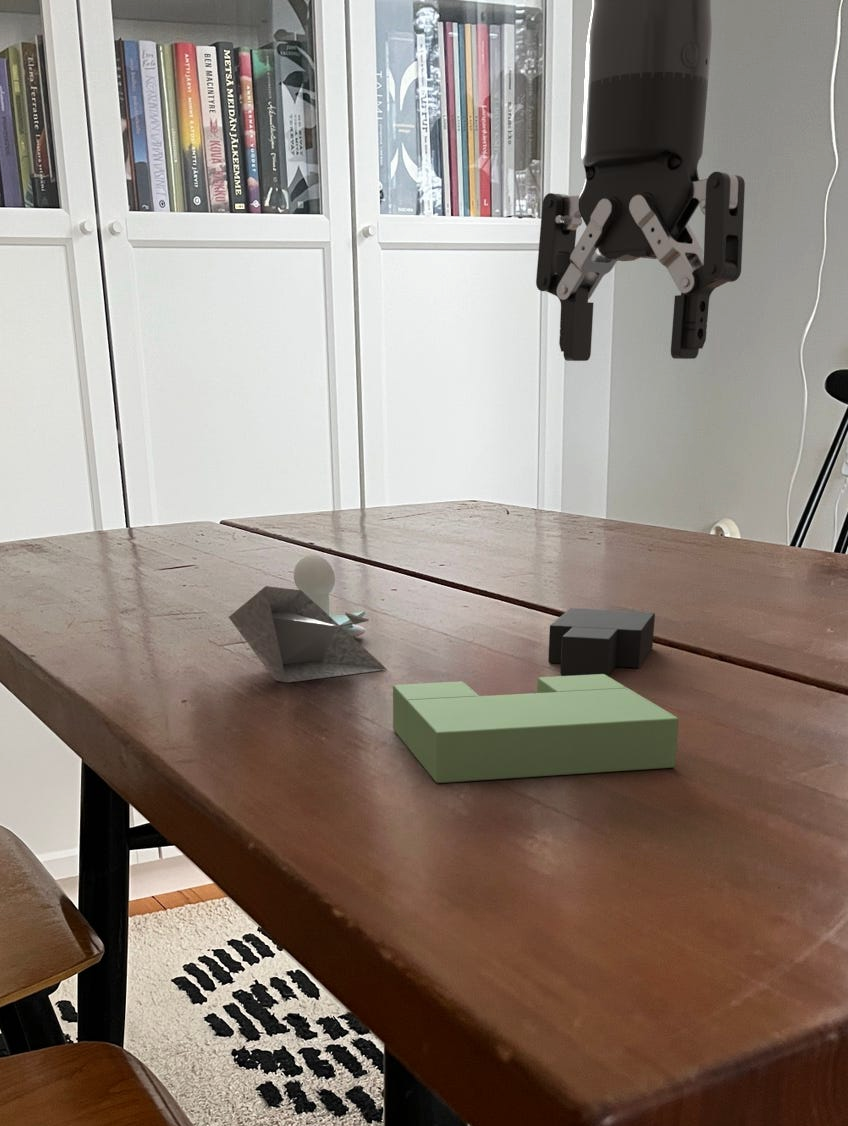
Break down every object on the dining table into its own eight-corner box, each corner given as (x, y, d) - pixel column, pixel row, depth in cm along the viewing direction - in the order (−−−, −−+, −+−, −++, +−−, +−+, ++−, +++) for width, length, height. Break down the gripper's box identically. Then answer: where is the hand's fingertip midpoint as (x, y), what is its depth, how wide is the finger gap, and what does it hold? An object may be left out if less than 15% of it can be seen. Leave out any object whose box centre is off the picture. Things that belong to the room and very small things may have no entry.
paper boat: (322, 636, 87) (430, 612, 82) (309, 722, 86) (419, 704, 80) (199, 558, 78) (311, 525, 73) (183, 653, 77) (296, 627, 71)
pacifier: (285, 631, 96) (259, 644, 91) (283, 547, 94) (256, 555, 89) (378, 635, 94) (357, 648, 89) (378, 549, 92) (356, 557, 87)
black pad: (652, 647, 89) (655, 612, 88) (631, 679, 79) (633, 640, 78) (567, 643, 90) (569, 608, 90) (536, 673, 81) (538, 635, 80)
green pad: (602, 717, 71) (604, 673, 70) (675, 768, 61) (679, 718, 61) (392, 729, 69) (392, 684, 68) (436, 783, 59) (436, 732, 59)
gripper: (781, 70, 76) (753, 359, 82) (588, 105, 86) (575, 361, 91) (715, 49, 71) (690, 358, 77) (518, 88, 81) (509, 361, 86)
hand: (628, 359), depth 84 cm, fingers open, 8 cm apart
